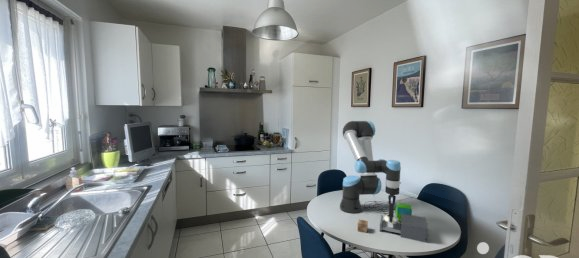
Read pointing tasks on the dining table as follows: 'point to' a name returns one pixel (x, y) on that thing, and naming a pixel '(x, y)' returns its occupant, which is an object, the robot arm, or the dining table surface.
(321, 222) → the dining table surface
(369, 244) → the dining table surface
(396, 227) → the grey drawer
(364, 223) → the walnut block
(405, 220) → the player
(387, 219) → the disc
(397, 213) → the green and teal box
